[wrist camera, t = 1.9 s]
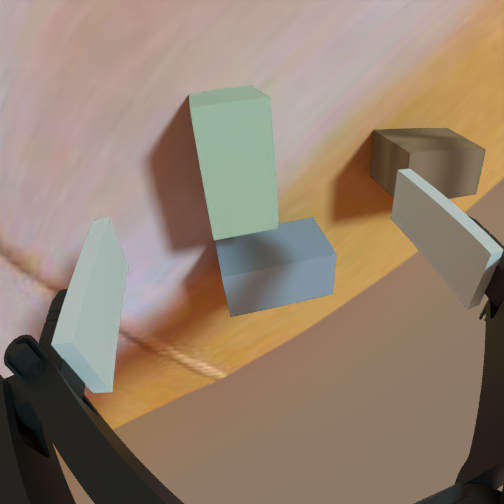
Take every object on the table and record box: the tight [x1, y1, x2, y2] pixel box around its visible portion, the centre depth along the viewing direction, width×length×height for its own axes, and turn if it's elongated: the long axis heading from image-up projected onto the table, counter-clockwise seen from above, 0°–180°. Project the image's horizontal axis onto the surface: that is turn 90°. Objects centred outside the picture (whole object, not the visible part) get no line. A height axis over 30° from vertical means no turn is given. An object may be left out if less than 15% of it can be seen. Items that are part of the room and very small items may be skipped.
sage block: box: [189, 85, 279, 240], centre depth 19 cm, size 8×4×5 cm, turn 5°
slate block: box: [215, 218, 336, 317], centre depth 25 cm, size 8×4×5 cm, turn 96°
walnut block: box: [370, 128, 485, 199], centre depth 22 cm, size 8×4×5 cm, turn 96°
